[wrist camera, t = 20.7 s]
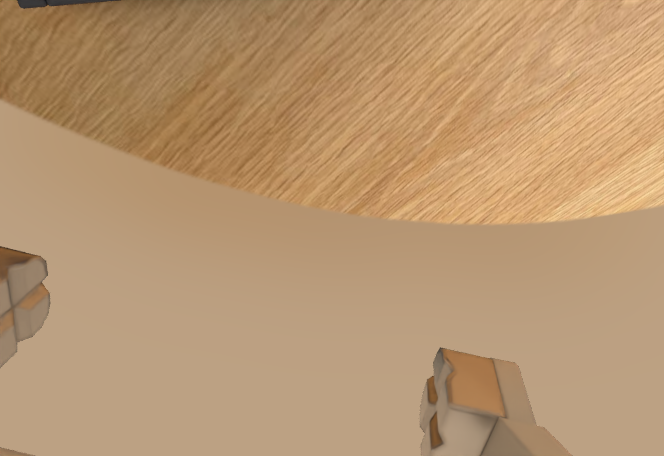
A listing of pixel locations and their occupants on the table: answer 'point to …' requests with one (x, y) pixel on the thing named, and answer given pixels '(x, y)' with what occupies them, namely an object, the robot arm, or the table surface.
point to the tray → (54, 2)
